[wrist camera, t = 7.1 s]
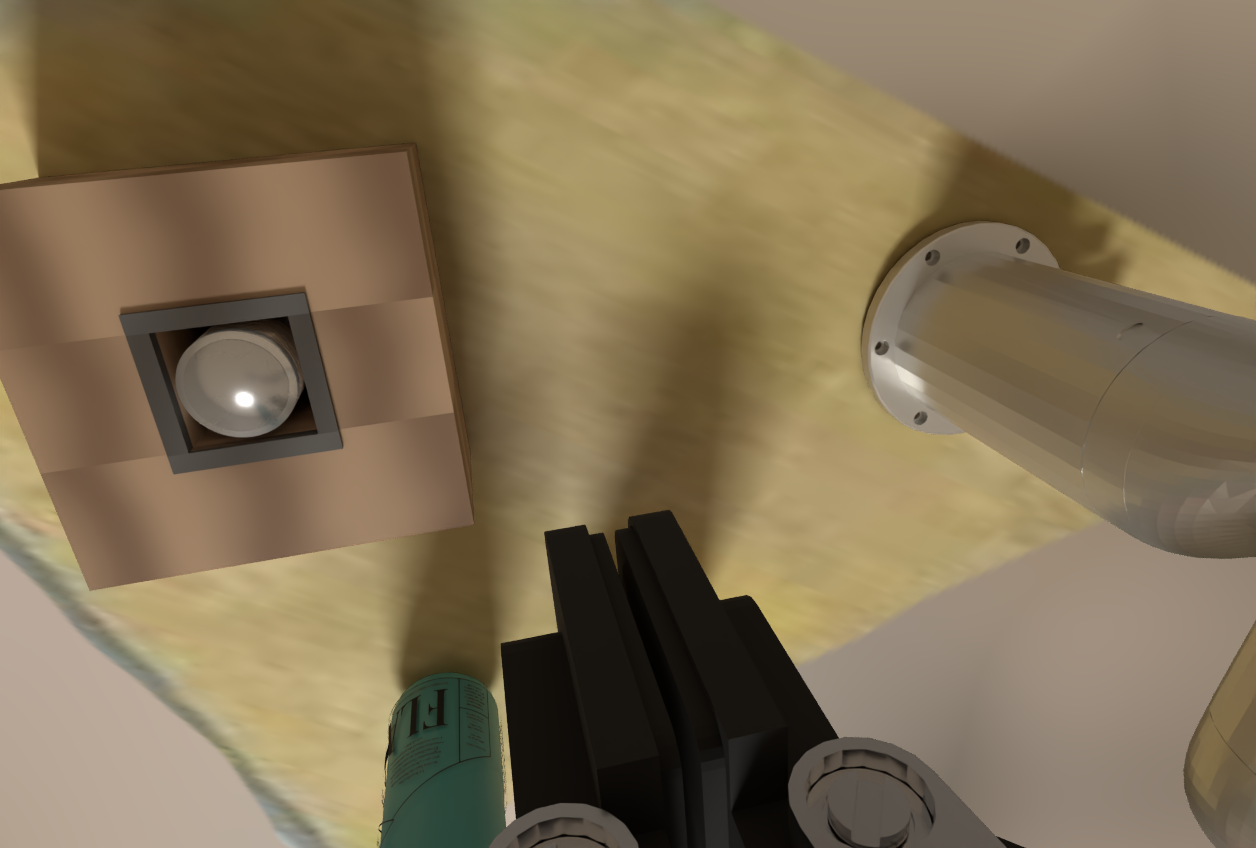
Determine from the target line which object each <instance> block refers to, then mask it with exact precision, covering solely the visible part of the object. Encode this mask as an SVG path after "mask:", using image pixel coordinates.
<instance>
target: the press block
mask: <svg viewBox="0 0 1256 848" xmlns="http://www.w3.org/2000/svg"><path fill="white" fill-rule="evenodd" d="M284 316H288V319H289V323H290V326H291V330H292V334H293V338H294V342H295V346H296V350H297V354H298V357H299V361H300V365H301V369H302V373H303V377H304V381H305V384H306V386H305V387H304V389H303V391H302V393H301V395H300V397H299V399H298V401H297V403H296V405H295V406H294V408H293V410H292V412H291V413H290V415H289V417H288V418H287V419H286V420H285V421H284V422H283V423H282V424H281V425H280V426H278V427H277V428H275V429H274V430H272V431H270V432H268V433H265V434H262V435H258V436H254V437H232V436H227V435H223V434H220V433H217V432H214V431H212V430H210V429H208V428H206V427H205V426H203V425H202V424H200V423H199V422H198V421H196V420H195V419H194V418H193V417H192V416H191V415H190V414H189V413H188V411H187V410H186V409H185V408H184V406H183V404H182V402H181V401H180V398H179V396H178V393H177V389H176V382H175V377H176V369H177V365H178V363H179V360H180V358H181V357H182V355H183V353H184V352H185V351H186V350H187V348H188V347H190V346H191V345H192V344H193V343H194V342H195V341H196V340H197V339H198V338H199V337H201V336H202V335H203V334H204V333H205V332H206V331H207V330H208V329H209V328H210V327H212V326H213V325H220V324H228V323H236V322H244V321H252V320H260V319H268V318H276V317H284ZM0 379H1V381H2V384H3V386H4V388H5V391H6V393H7V395H8V398H9V400H10V402H11V405H12V407H13V410H14V412H15V414H16V417H17V419H18V421H19V424H20V426H21V429H22V431H23V433H24V436H25V438H26V440H27V443H28V445H29V448H30V450H31V452H32V455H33V457H34V459H35V462H36V464H37V466H38V469H39V471H40V474H41V476H42V478H43V481H44V483H45V485H46V488H47V490H48V493H49V495H50V497H51V500H52V502H53V504H54V507H55V509H56V512H57V514H58V516H59V519H60V521H61V523H62V526H63V528H64V531H65V533H66V535H67V538H68V540H69V542H70V545H71V547H72V549H73V552H74V554H75V557H76V559H77V561H78V564H79V566H80V568H81V571H82V573H83V576H84V578H85V580H86V583H87V585H88V587H89V590H90V591H91V590H97V589H102V588H108V587H114V586H120V585H126V584H132V583H137V582H143V581H149V580H155V579H161V578H167V577H172V576H178V575H184V574H190V573H196V572H201V571H207V570H213V569H219V568H225V567H231V566H236V565H242V564H248V563H254V562H260V561H265V560H271V559H277V558H283V557H289V556H295V555H300V554H306V553H312V552H318V551H324V550H330V549H335V548H341V547H347V546H353V545H359V544H364V543H370V542H376V541H382V540H388V539H394V538H399V537H405V536H411V535H417V534H423V533H428V532H434V531H440V530H446V529H452V528H458V527H463V526H469V525H474V513H473V494H472V475H471V456H470V448H469V443H468V437H467V431H466V426H465V420H464V414H463V409H462V403H461V397H460V392H459V386H458V380H457V375H456V369H455V363H454V357H453V352H452V346H451V340H450V335H449V329H448V323H447V318H446V312H445V306H444V301H443V295H442V289H441V284H440V278H439V272H438V267H437V261H436V255H435V250H434V244H433V238H432V233H431V227H430V221H429V216H428V210H427V204H426V199H425V193H424V187H423V182H422V176H421V170H420V165H419V159H418V153H417V148H416V143H407V144H396V145H385V146H374V147H364V148H353V149H342V150H331V151H321V152H310V153H299V154H288V155H278V156H267V157H256V158H245V159H235V160H224V161H213V162H202V163H192V164H181V165H170V166H159V167H149V168H138V169H127V170H116V171H106V172H95V173H84V174H73V175H63V176H52V177H41V178H34V179H28V180H22V181H16V182H10V183H4V184H0Z"/></svg>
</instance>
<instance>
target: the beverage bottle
mask: <svg viewBox="0 0 1256 848" xmlns="http://www.w3.org/2000/svg"><path fill="white" fill-rule="evenodd" d="M397 702H398V703H397V705H396V704H395V705H396V707H395V709H394V712H393V716H392V721H391V722H392V724H391V723H390V726H388V727H389V729H388V730H389V736H387V737H389V738H388V739H389V745H388V749H387V753H386V757H385V767H384V770H385V782H384V783H385V787H386V790H385V793H384V794H385V799H383V800H385V801H384V803H383V804H384V806H383V808H384V811H383V822H382V823H381V824H380V825H382V831H380V830H379V831H380V832H381V844H380V846H379V848H489V846H490V845H491V843H492V841H493V840H494V838H495V837H496V836H497V835H499V834H500V833H501V832H502V831H503V830H504V829H505V828H506V821H505V809H504V791H505V790H504V787H506V786H504V784H503V773H504V772H503V771H502V769H503V768H504V769H505V765H504V763H503V765H504V767H503V768H502V758H501V754H502V752H501V745H502V744H503V743H501V744H500V739H501V738H500V731H501V730H500V731H499V728H500V727H499V718H498V709H497V704H496V702H495V699H494V698H493V696H492V694H491V692H490V691H489V689H488V688H487V687H486V686H485V685H484V684H483V683H481V682H480V681H479V680H477V679H475V678H473V677H470V676H468V675H464V674H459V673H439V674H434V675H430V676H427V677H425V678H423V679H420V680H419V681H417V682H415V683H414V684H412V685H411V686H410V687H409V688H408V689H407V690H406V691H405V692H404V693H403V694H402V696H401V697H400V699H399V700H398V701H397ZM393 708H394V707H393ZM392 710H393V709H392ZM390 715H391V714H390ZM389 719H390V718H389ZM389 722H390V721H389ZM500 723H501V724H502V722H500ZM501 734H502V733H501ZM502 736H503V735H502ZM502 740H503V738H502ZM502 740H501V742H502ZM386 748H387V747H386ZM502 750H504V747H503V749H502ZM388 755H389V757H388ZM502 756H503V755H502ZM387 758H388V768H387V779H386V761H387ZM504 761H505V759H504ZM504 774H506V772H505V773H504ZM504 777H505V776H504ZM504 783H505V781H504ZM506 785H507V784H506ZM382 792H383V790H382ZM505 793H506V791H505ZM383 797H384V796H383ZM383 800H382V801H383ZM506 804H507V803H506ZM380 825H379V827H380ZM377 843H379V842H378V841H377Z"/></svg>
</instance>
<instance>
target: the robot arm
mask: <svg viewBox="0 0 1256 848" xmlns="http://www.w3.org/2000/svg"><path fill="white" fill-rule="evenodd" d="M926 254H927V256H926ZM876 344H877V345H876ZM861 354H862V364H863V371H864V374H865V377H866V380H867V384H868V387H869V388H870V390H871V392H872V394H873V395H874V397H875V399H876V401H877V402H878V403H879V404H880V405H881V406H882V407H883V408H884V409H885V410H886V412H887V413H888V414H890V415H891V416H893V417H894V418H895V419H897V420H898V421H899V422H901V423H902V424H904V425H906V426H908V427H910V428H912V429H914V430H916V431H920V432H924V433H928V434H933V435H954V434H960V433H968V434H970V435H971V436H973V437H974V438H976V439H978V440H979V441H981V442H982V443H984V444H985V445H987V446H989V447H990V448H992V449H993V450H995V451H997V452H998V453H1000V454H1001V455H1003V456H1004V457H1006V458H1008V459H1009V460H1011V461H1012V462H1014V463H1016V464H1017V465H1019V466H1020V467H1022V468H1023V469H1025V470H1027V471H1028V472H1030V473H1031V474H1033V475H1034V476H1036V477H1038V478H1039V479H1041V480H1042V481H1044V482H1046V483H1047V484H1049V485H1050V486H1052V487H1053V488H1055V489H1057V490H1058V491H1060V492H1061V493H1063V494H1065V495H1066V496H1068V497H1069V498H1071V499H1072V500H1074V501H1076V502H1077V503H1079V504H1080V505H1082V506H1084V507H1085V508H1087V509H1088V510H1090V511H1091V512H1093V513H1095V514H1096V515H1098V516H1099V517H1101V518H1103V519H1104V520H1106V521H1107V522H1110V523H1111V524H1113V525H1114V526H1116V527H1117V528H1119V529H1121V530H1122V531H1124V532H1126V533H1127V534H1129V535H1130V536H1132V537H1134V538H1136V539H1138V540H1140V541H1141V542H1143V543H1146V544H1148V545H1150V546H1152V547H1155V548H1158V549H1161V550H1164V551H1166V552H1170V553H1174V554H1179V555H1184V556H1190V557H1196V558H1213V559H1215V558H1216V559H1232V558H1247V557H1256V321H1255V320H1252V319H1248V318H1244V317H1239V316H1234V315H1230V314H1226V313H1222V312H1219V311H1215V310H1211V309H1207V308H1204V307H1200V306H1196V305H1192V304H1189V303H1185V302H1181V301H1177V300H1174V299H1170V298H1166V297H1162V296H1159V295H1155V294H1151V293H1147V292H1144V291H1140V290H1136V289H1132V288H1129V287H1125V286H1121V285H1117V284H1114V283H1110V282H1106V281H1102V280H1099V279H1095V278H1091V277H1087V276H1084V275H1080V274H1076V273H1072V272H1069V271H1065V270H1061V269H1060V267H1059V265H1058V262H1057V260H1056V259H1055V257H1054V256H1053V254H1052V253H1051V252H1050V250H1049V249H1048V247H1047V246H1046V245H1045V244H1044V243H1042V242H1041V241H1040V240H1039V239H1038V238H1037V237H1035V236H1034V235H1033V234H1031V233H1029V232H1027V231H1025V230H1023V229H1021V228H1019V227H1016V226H1012V225H1008V224H1004V223H1000V222H990V221H973V222H965V223H960V224H957V225H954V226H951V227H948V228H945V229H942V230H940V231H938V232H936V233H934V234H932V235H931V236H929V237H927V238H925V239H923V240H922V241H921V242H919V243H918V244H917V245H916V246H914V247H913V248H912V249H910V250H909V251H908V252H907V253H905V254H904V256H903V257H902V258H901V259H900V260H899V261H898V262H897V263H896V264H895V265H894V267H893V268H892V269H891V270H890V271H889V273H888V274H887V276H886V277H885V279H884V280H883V282H882V283H881V285H880V286H879V288H878V289H877V291H876V294H875V296H874V298H873V300H872V303H871V305H870V307H869V309H868V313H867V316H866V320H865V324H864V328H863V334H862V346H861ZM544 535H545V543H546V550H547V557H548V565H549V572H550V579H551V586H552V593H553V600H554V607H555V614H556V621H557V628H558V632H556V633H551V634H546V635H541V636H536V637H531V638H526V639H521V640H516V641H511V642H506V643H501V657H502V668H503V679H504V691H505V702H506V713H507V724H508V735H509V747H510V758H511V769H512V780H513V791H514V802H515V814H516V820H514V821H513V822H512V823H511V824H510V825H509V826H507V827H506V828H505V829H504V830H503V831H502V832H501V833H500V834H499V835H497V836H496V837H495V838H494V840H493V841H492V843H491V845H490V846H489V848H1024V847H1022V846H1019V845H1017V844H1014V843H1012V842H1010V841H1007V840H1005V839H1002V838H1000V837H997V836H995V835H994V834H993V833H992V832H991V831H990V829H989V828H988V827H987V826H986V825H985V824H984V823H983V822H982V821H981V820H980V819H979V818H978V817H977V816H976V815H975V814H974V813H973V812H972V810H971V809H970V808H969V807H968V806H967V805H966V804H965V803H964V802H963V801H962V800H961V799H960V798H959V797H958V796H957V795H956V793H954V791H953V790H951V788H950V787H949V786H948V785H947V784H946V783H945V782H944V781H943V780H942V779H941V778H940V777H939V775H938V774H937V773H936V772H935V771H934V770H932V769H931V768H930V767H929V766H928V765H926V764H925V763H924V762H923V761H921V760H920V759H919V758H918V757H917V756H916V755H914V754H912V753H910V752H908V751H906V750H904V749H902V748H900V747H898V746H896V745H894V744H891V743H887V742H883V741H879V740H876V739H872V738H859V737H858V738H857V737H843V738H839V737H838V736H837V734H836V732H835V731H834V729H833V728H832V726H831V724H830V723H829V721H828V719H827V718H826V717H825V715H824V713H823V711H822V710H821V708H820V706H819V705H818V703H817V701H816V700H815V698H814V697H813V695H812V693H811V692H810V690H809V689H808V687H807V685H806V684H805V682H804V680H803V679H802V677H801V675H800V674H799V672H798V670H797V669H796V667H795V666H794V664H793V662H792V661H791V659H790V657H789V656H788V654H787V653H786V651H785V649H784V648H783V646H782V644H781V643H780V641H779V640H778V638H777V636H776V635H775V633H774V631H773V630H772V628H771V626H770V625H769V623H768V622H767V620H766V618H765V617H764V615H763V613H762V612H761V610H760V609H759V607H758V605H757V604H756V602H755V601H754V600H753V599H752V597H750V596H748V595H744V596H739V597H734V598H729V599H724V600H719V598H718V597H717V595H716V593H715V591H714V589H713V587H712V585H711V584H710V582H709V580H708V578H707V576H706V574H705V573H704V571H703V569H702V567H701V565H700V563H699V561H698V560H697V558H696V556H695V554H694V552H693V550H692V549H691V547H690V545H689V543H688V541H687V539H686V538H685V536H684V534H683V532H682V530H681V528H680V526H679V525H678V523H677V521H676V519H675V517H674V515H673V514H672V512H671V511H670V510H665V511H660V512H654V513H648V514H643V515H637V516H631V517H629V519H628V528H626V529H620V530H615V544H616V554H617V564H618V572H617V569H616V566H615V564H614V561H613V558H612V555H611V552H610V550H609V547H608V544H607V541H606V538H605V536H604V533H598V534H592V535H589V533H588V530H587V527H586V525H580V526H574V527H569V528H563V529H557V530H551V531H546V532H544ZM618 574H619V575H618ZM1183 771H1184V789H1185V793H1186V796H1187V800H1188V803H1189V806H1190V809H1191V811H1192V813H1193V815H1194V817H1195V819H1196V820H1197V822H1198V824H1199V826H1200V827H1201V829H1202V831H1203V832H1204V834H1205V835H1206V836H1207V838H1208V839H1209V840H1210V842H1211V843H1212V844H1213V845H1214V846H1215V848H1256V621H1255V622H1254V624H1253V626H1252V628H1251V629H1250V631H1249V633H1248V635H1247V636H1246V638H1245V640H1244V642H1243V643H1242V645H1241V647H1240V649H1239V650H1238V652H1237V654H1236V656H1235V657H1234V659H1233V661H1232V663H1231V665H1230V666H1229V668H1228V670H1227V672H1226V674H1225V675H1224V677H1223V679H1222V680H1221V682H1220V684H1219V686H1218V687H1217V689H1216V691H1215V693H1214V694H1213V696H1212V699H1211V701H1210V703H1209V705H1208V707H1207V708H1206V710H1205V712H1204V714H1203V716H1202V718H1201V719H1200V721H1199V724H1198V726H1197V728H1196V730H1195V732H1194V734H1193V736H1192V739H1191V741H1190V743H1189V746H1188V750H1187V753H1186V758H1185V764H1184V770H1183Z"/></svg>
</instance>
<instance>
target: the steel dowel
mask: <svg viewBox="0 0 1256 848" xmlns="http://www.w3.org/2000/svg"><path fill="white" fill-rule="evenodd" d="M175 382H176V389H177V393H178V396H179V398H180V401H181V402H182V404H183V406H184V408H185V409H186V410H187V411H188V413H189V414H190V415H191V416H192V417H193V418H194V419H195V420H196V421H198V422H199V423H200V424H202V425H203V426H205V427H206V428H208V429H210V430H212V431H214V432H217V433H220V434H223V435H227V436H232V437H254V436H258V435H262V434H265V433H268V432H270V431H272V430H274V429H275V428H277V427H278V426H280V425H281V424H282V423H283V422H284V421H285V420H286V419H287V418H288V417H289V415H290V413H291V412H292V410H293V408H294V406H295V405H296V403H297V401H298V399H299V397H300V395H301V393H302V391H303V389H304V387H305V386H306V384H305V381H304V377H303V373H302V369H301V365H300V361H299V357H298V354H297V350H296V346H295V342H294V338H293V334H292V330H291V326H290V323H289V319H288V316H284V317H276V318H268V319H260V320H252V321H244V322H236V323H228V324H220V325H213V326H212V327H210V328H209V329H208V330H207V331H206V332H205V333H204V334H203V335H202V336H201V337H199V338H198V339H197V340H196V341H195V342H194V343H193V344H192V345H191V346H190V347H188V348H187V350H186V351H185V352H184V353H183V355H182V357H181V358H180V360H179V363H178V365H177V369H176V377H175Z"/></svg>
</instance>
